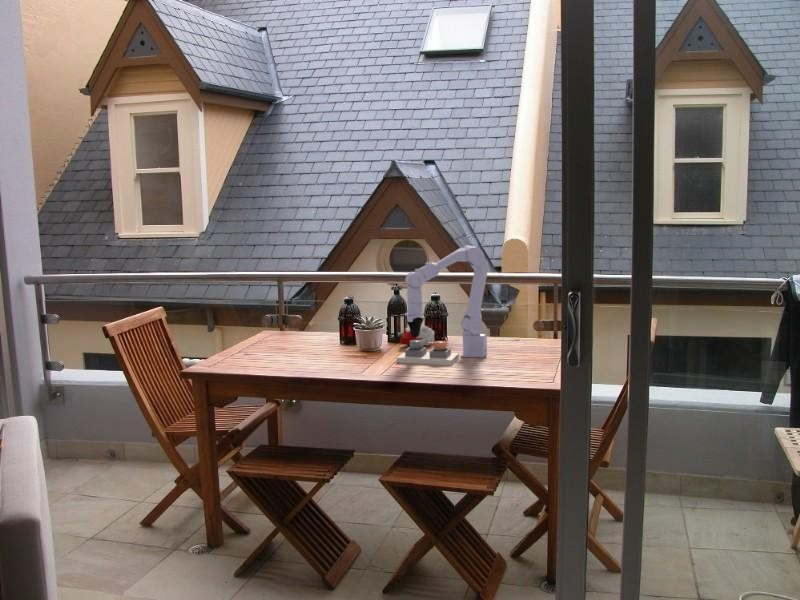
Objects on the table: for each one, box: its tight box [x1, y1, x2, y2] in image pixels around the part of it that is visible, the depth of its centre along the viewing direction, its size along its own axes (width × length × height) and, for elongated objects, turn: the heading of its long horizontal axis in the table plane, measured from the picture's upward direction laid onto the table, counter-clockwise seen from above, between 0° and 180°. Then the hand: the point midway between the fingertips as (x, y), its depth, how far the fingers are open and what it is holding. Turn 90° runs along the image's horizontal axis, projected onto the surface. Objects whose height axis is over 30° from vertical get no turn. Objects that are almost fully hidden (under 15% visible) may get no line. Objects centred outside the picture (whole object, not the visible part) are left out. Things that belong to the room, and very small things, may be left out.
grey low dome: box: [409, 340, 423, 349], centre depth 316 cm, size 5×5×2 cm
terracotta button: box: [433, 340, 447, 350], centre depth 313 cm, size 5×5×2 cm
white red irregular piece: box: [399, 324, 434, 347], centre depth 341 cm, size 9×11×15 cm
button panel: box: [396, 346, 460, 366], centre depth 315 cm, size 22×12×4 cm, turn 72°
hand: (415, 336), depth 315 cm, fingers closed
